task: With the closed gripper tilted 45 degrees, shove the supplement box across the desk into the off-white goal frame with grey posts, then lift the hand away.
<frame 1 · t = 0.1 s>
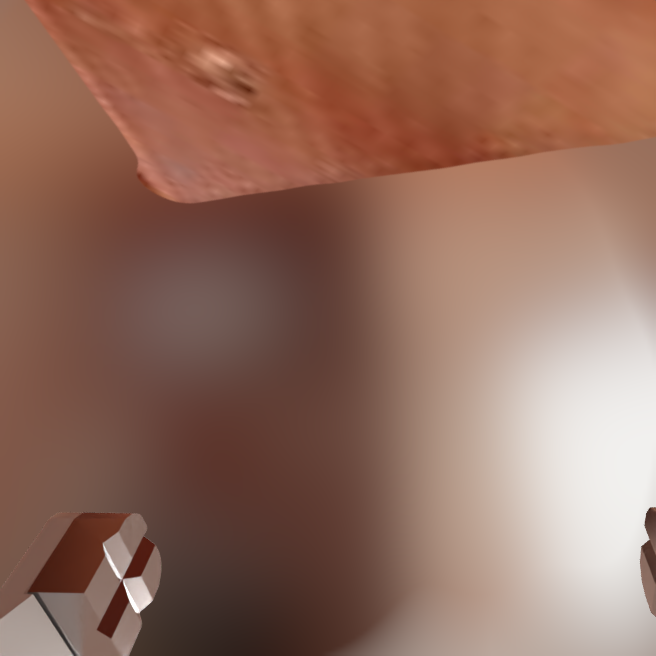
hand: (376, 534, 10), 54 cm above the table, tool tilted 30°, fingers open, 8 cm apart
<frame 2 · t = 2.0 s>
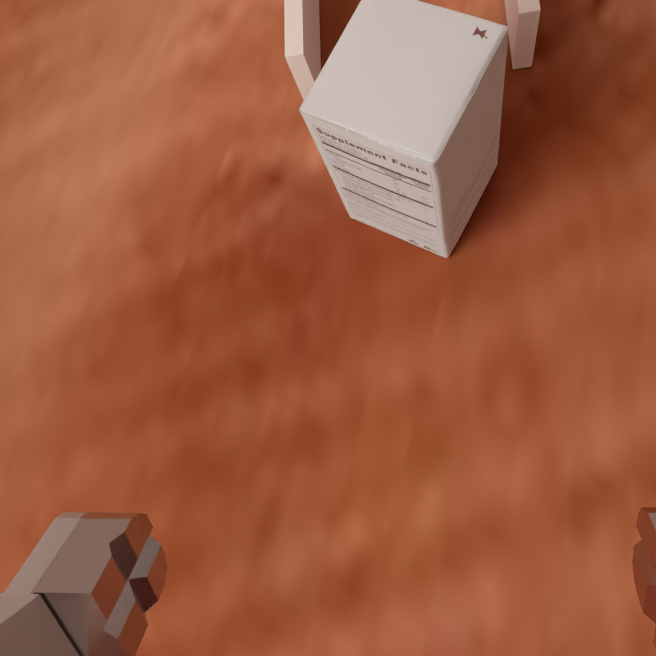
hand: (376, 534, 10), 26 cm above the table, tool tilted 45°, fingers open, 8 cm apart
goal frame: (408, 12, 42), on the table
supplement box: (422, 194, 39), on the table
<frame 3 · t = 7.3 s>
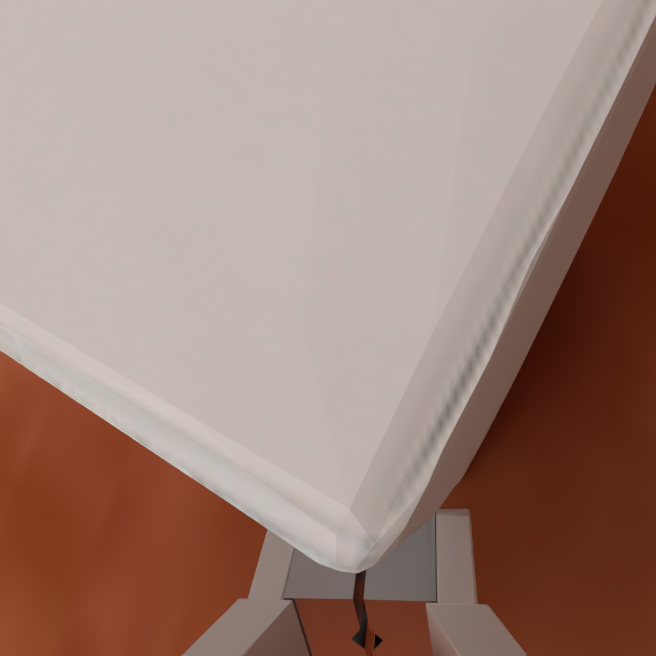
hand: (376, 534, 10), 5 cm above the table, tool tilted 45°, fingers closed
supplement box: (389, 302, 16), on the table, touching gripper
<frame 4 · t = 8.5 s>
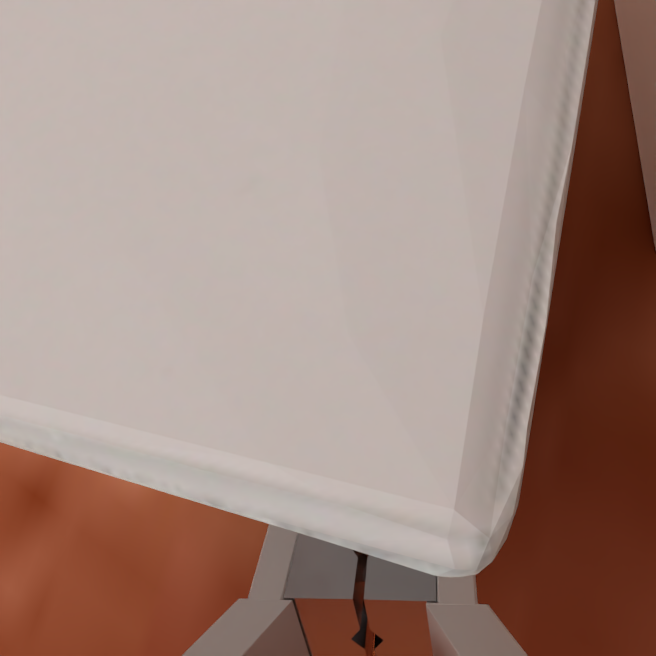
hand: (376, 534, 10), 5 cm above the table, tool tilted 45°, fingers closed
goal frame: (379, 82, 17), on the table
supplement box: (361, 321, 16), on the table, touching gripper
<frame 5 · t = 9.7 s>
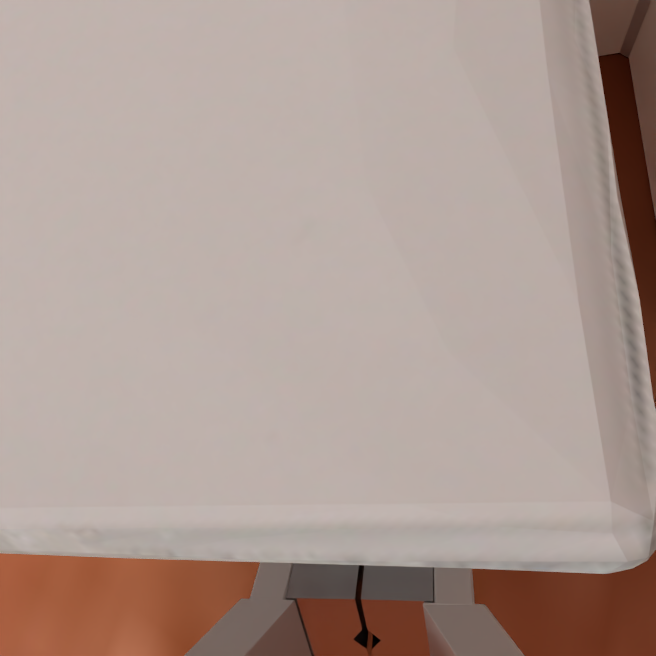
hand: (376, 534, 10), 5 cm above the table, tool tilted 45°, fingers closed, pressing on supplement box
goal frame: (394, 286, 16), on the table
supplement box: (348, 349, 16), on the table, touching gripper
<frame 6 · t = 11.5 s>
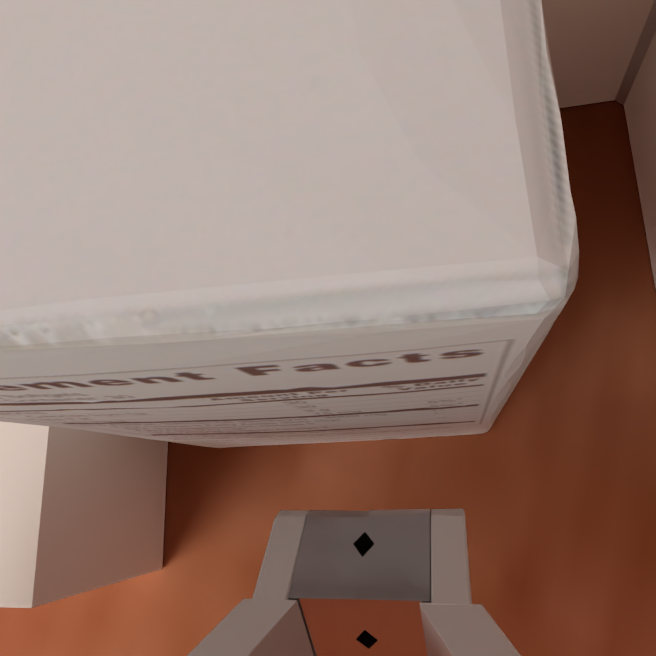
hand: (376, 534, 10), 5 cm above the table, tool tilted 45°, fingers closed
goal frame: (395, 331, 16), on the table
supplement box: (345, 315, 16), on the table
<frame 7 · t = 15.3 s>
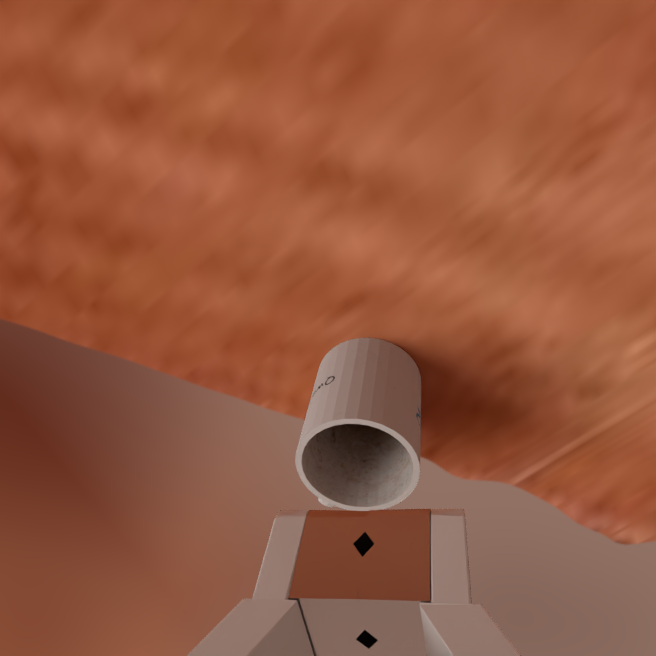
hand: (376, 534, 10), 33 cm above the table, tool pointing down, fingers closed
printed ceramic cup: (356, 394, 50), on the table
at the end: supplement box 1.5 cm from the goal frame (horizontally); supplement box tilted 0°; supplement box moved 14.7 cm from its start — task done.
